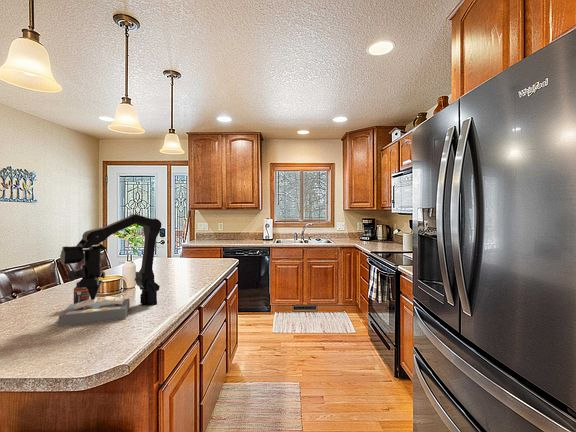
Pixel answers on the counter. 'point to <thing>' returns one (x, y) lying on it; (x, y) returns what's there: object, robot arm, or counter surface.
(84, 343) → the counter surface
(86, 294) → the supplement bottle
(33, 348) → the counter surface
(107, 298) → the block
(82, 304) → the panel
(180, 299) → the counter surface
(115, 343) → the counter surface
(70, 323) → the console
